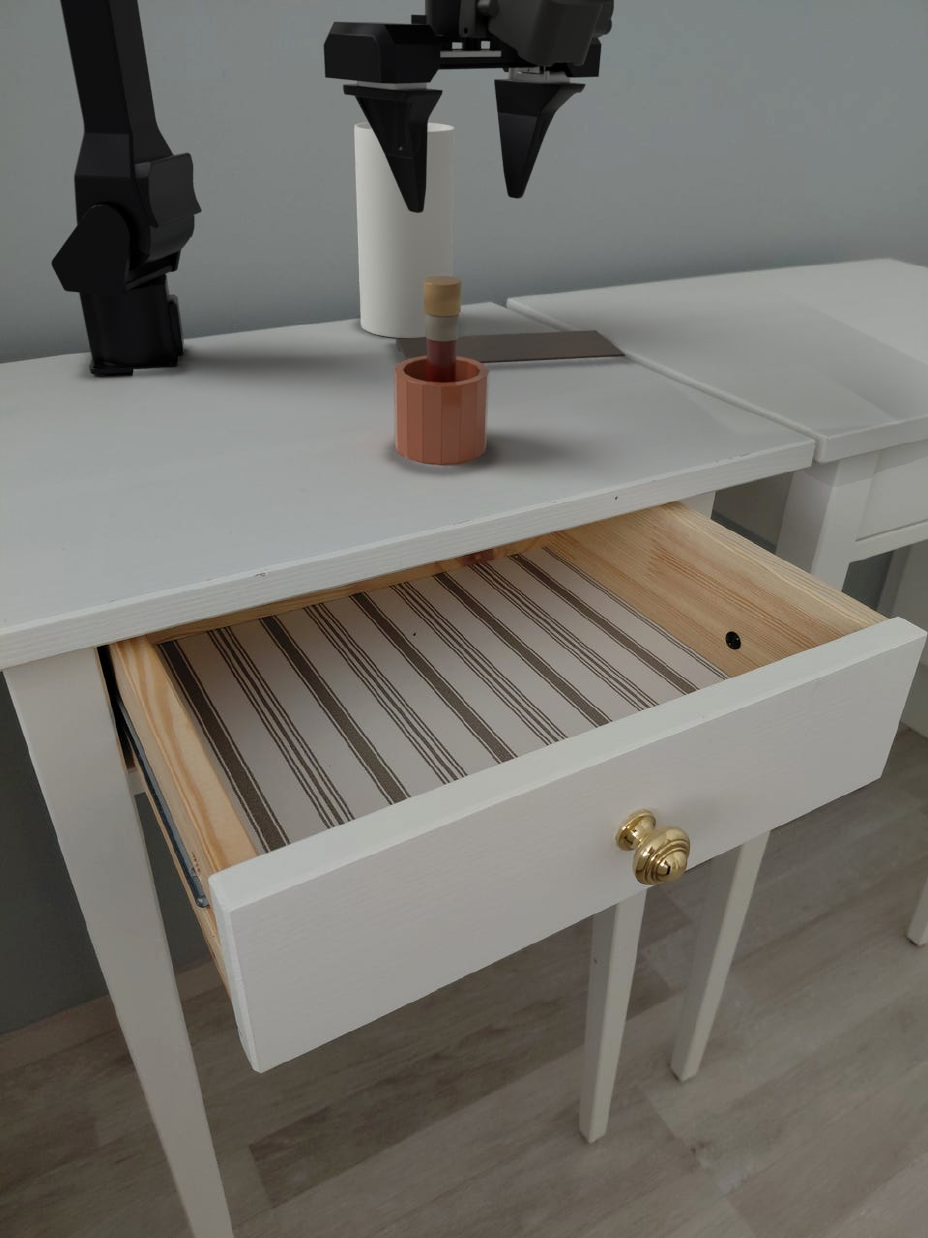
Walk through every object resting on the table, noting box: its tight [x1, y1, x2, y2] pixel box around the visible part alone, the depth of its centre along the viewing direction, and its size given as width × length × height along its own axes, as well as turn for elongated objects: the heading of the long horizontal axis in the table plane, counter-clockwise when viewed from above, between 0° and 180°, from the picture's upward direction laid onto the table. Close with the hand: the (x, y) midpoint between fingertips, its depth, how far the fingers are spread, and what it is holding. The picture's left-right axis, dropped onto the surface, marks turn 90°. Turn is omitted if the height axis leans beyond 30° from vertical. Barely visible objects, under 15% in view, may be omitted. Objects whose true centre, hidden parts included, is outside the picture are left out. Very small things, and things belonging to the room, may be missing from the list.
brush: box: [424, 276, 462, 383], centre depth 57 cm, size 2×2×10 cm
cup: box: [353, 121, 456, 339], centre depth 80 cm, size 8×8×16 cm
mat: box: [395, 329, 626, 364], centre depth 78 cm, size 18×7×1 cm, turn 103°
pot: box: [393, 356, 490, 466], centre depth 59 cm, size 6×6×6 cm
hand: (467, 204), depth 62 cm, fingers open, 9 cm apart
